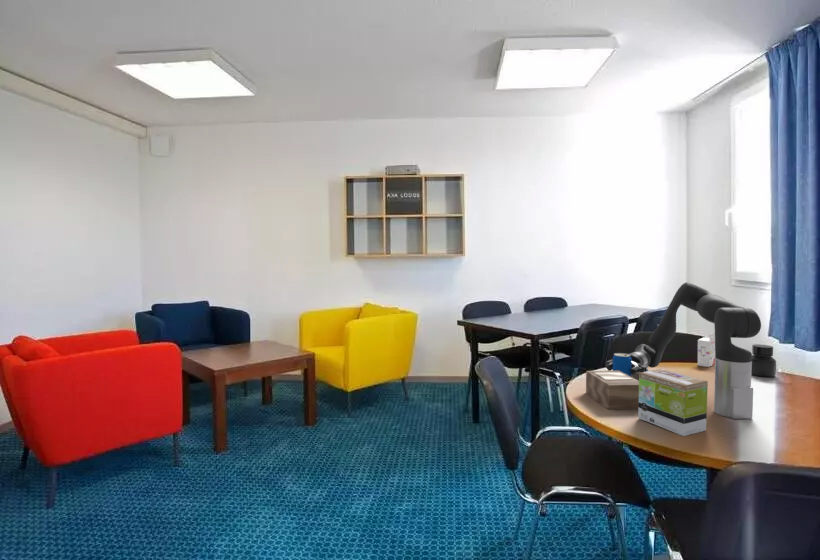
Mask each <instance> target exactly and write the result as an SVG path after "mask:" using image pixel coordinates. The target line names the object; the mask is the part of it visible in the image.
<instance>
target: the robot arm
mask: <svg viewBox="0 0 820 560" xmlns="http://www.w3.org/2000/svg"><path fill="white" fill-rule="evenodd" d="M680 306H683V307H686V308H687V309H690V310H693V311H695V312H697V313H698V315H699V316H700V317H702V318H703V320H705V321H707V322H709V323H712V324H714V332H715V364H714V390H713V391H714V393H713V394H714V396H713V398H714V400H713V401H714V402H713V403H714V405H713V411H714V413H716V414H717V415H719V416H722V417H727V418H730V419H732V420H736V419H737V420H740V419H742V420H743V419H744V420H746V419H753V415H754V414H753V409H754V406H753V405H754V388H753V386H752V375H751V370H752V355H753V354H752V351H750V350H748V349H745V348H742V347H739V346H737V345H735V344H733V342H732V338H734V339H735V338H736V339H748V338H753V337H756V336H757V335H759V333H760V332H761V329H762V322H761V318H760V316H759V314H758V313H757V312H756V311H755V310H754V309H752V308H749V307H744V306H741V305H737V304H736V303H734V302H732V301H729V300H727V299H726V298H723V297H722V296H719V295H717V294H712V293H711V292H710V291H709V290H707V289H705V288H703V287H701V286H698V285H696V284H694V283H691V282H689V281H688V282H684V283H682V284H681V285H680V287H678V289H677V290H676V292H675V294H674V295H673V297H672V299H671V301H670V302H669V305H668V307H667V308H666V310H665V313H664V315H663V317H662V319H661V320H660V322H659V324H658V325H657V327H656V328H655V329H654V331H653V332H652V333H651V335H650V336H649V338H648V342H649V343H650V344H651V346H652V347H653V348H652V347H650V345H647V344H644V343H641V344H639V345H637V347H635V349H634V352H630V353H628V354H629V355H630V357H631V359H632V363H631V375H636V374H639V372H640V373H641V372H647V371H649V368H656V367H658V366H659V365H660V363H661V361H662V357H663V354H664V353H665V349H666V348H667V346H668V344H669V343H671V341H672V340H673V338H674V336H675V334H676V332H677V313H678V311H679V307H680ZM605 368H606V369H607V371H613V358H612V359H610V360H606V361H605Z"/></svg>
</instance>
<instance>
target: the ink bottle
mask: <svg viewBox="0 0 820 560" xmlns="http://www.w3.org/2000/svg"><path fill="white" fill-rule="evenodd" d="M751 348H752V349H751V353H752V370H751V376H754V377H755V376H756V377H760V378H761V377H762V378H773V377H776V376H777V360H776V359H775V358H774V357H773V356H774V346H772V345H768V344H756V343H755V344H752V347H751Z"/></svg>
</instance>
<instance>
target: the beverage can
mask: <svg viewBox="0 0 820 560" xmlns="http://www.w3.org/2000/svg"><path fill="white" fill-rule="evenodd" d="M629 354H630V353H623V352H615V353H613V356H612V359H613V369H612V371H621V372H623V373H625V374H627V375H629V376H630V377H632V374H631V363H632V359H631V357H630V355H629Z"/></svg>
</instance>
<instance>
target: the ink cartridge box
mask: <svg viewBox="0 0 820 560" xmlns="http://www.w3.org/2000/svg"><path fill="white" fill-rule="evenodd" d="M715 356H716V352H715V331H713V332H711V333H708V337H702V338H699V339H697V367H698V366H699V367H706V368H711V367H712V366H715V358H716V357H715ZM710 366H711V367H710Z"/></svg>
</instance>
